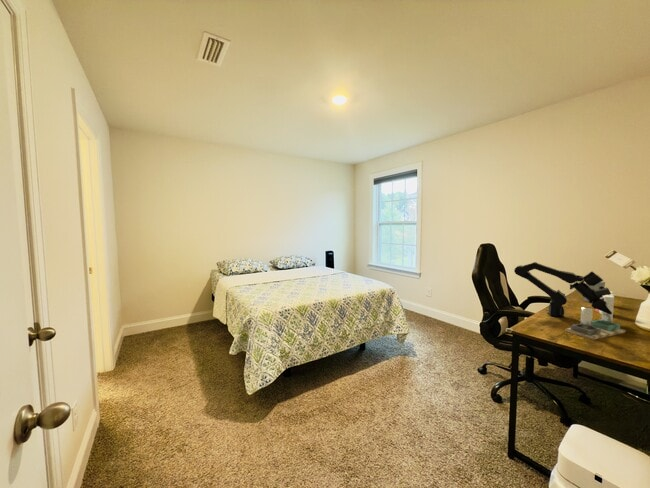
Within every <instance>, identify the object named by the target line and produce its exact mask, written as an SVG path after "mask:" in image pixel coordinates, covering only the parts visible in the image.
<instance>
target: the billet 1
mask: <svg viewBox="0 0 650 488" xmlns="http://www.w3.org/2000/svg"><path fill="white" fill-rule="evenodd" d="M593 312H594V308H593V307H588V306H581V308H580V319H579V320H580V327H581V328H585V329H588V330H591V329H592V321H593Z"/></svg>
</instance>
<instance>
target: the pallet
mask: <svg viewBox="0 0 650 488" xmlns="http://www.w3.org/2000/svg"><path fill="white" fill-rule="evenodd" d="M564 331H565V332H568V333H570V334H573V335H576V336H580V337H583V338H585V339H589V340H591V341H593V340H597V339H602V338H607V337H611V336H616V335H621V334H625V333H626V329H623V328H621V324H619V323H615V322H613V321H612V322H608V321H604V320H601V318H600V319H596V320H592V329H591V330H588V329H585V328H581V327H580V323H574V324H570V327H567V328H565V330H564Z"/></svg>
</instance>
